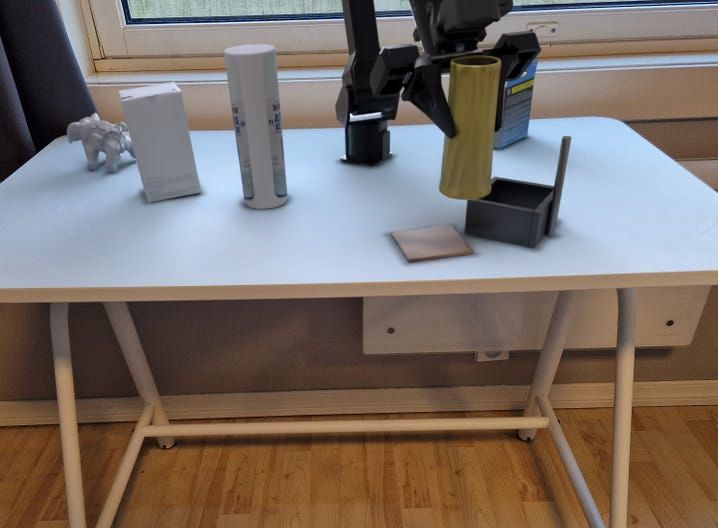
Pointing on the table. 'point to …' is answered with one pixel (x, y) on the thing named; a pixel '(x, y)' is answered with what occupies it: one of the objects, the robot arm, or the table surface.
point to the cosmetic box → (161, 140)
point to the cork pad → (431, 243)
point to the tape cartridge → (516, 109)
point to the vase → (470, 127)
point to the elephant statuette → (100, 140)
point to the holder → (518, 208)
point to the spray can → (257, 123)
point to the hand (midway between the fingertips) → (475, 133)
